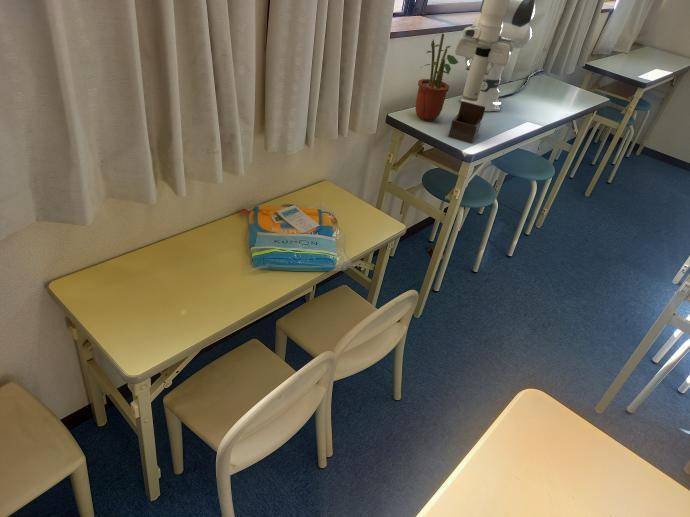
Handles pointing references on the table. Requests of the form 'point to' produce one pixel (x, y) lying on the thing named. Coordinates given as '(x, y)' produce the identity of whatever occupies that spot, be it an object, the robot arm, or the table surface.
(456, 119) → the brown hinged box
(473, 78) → the travel mug
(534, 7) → the robot arm
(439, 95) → the potted plant
